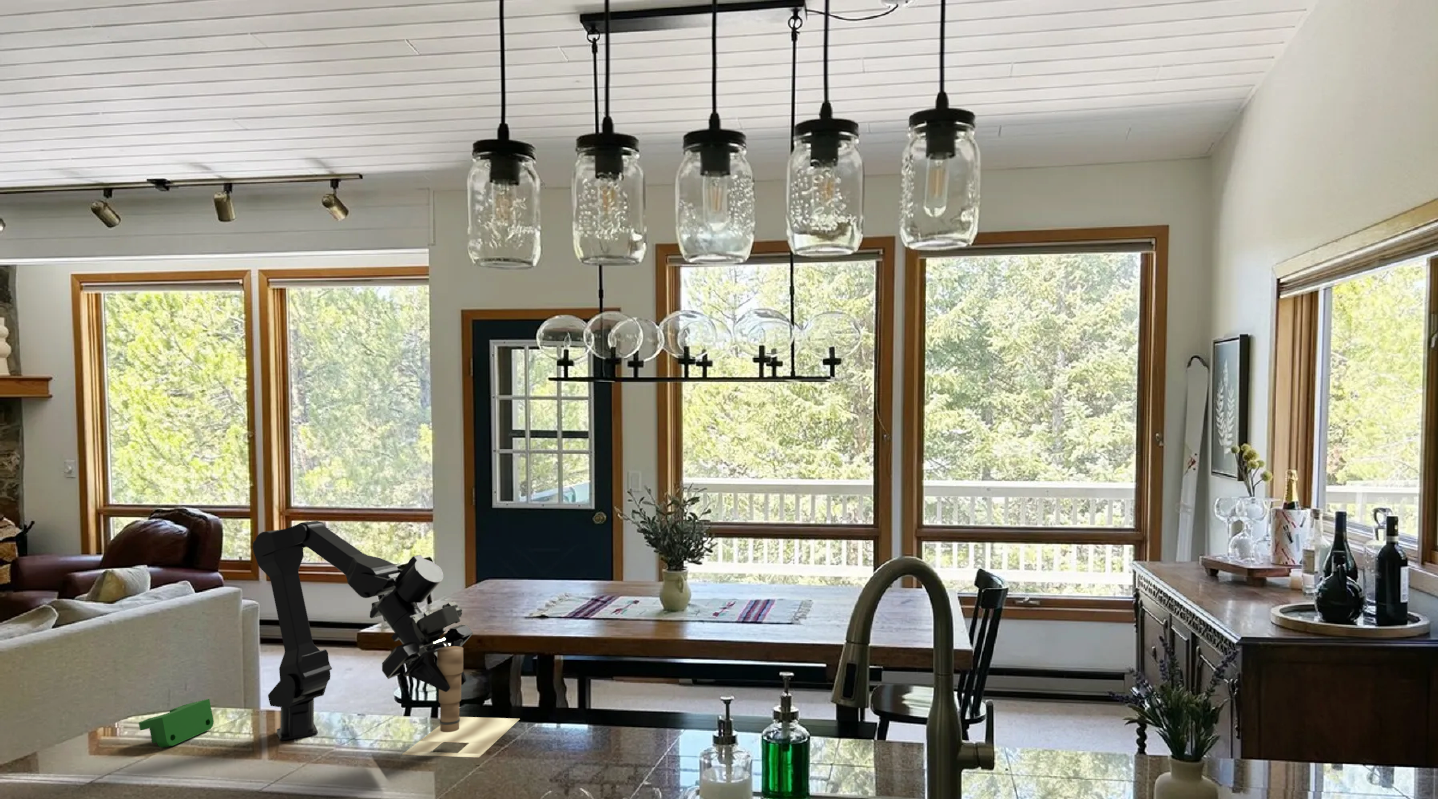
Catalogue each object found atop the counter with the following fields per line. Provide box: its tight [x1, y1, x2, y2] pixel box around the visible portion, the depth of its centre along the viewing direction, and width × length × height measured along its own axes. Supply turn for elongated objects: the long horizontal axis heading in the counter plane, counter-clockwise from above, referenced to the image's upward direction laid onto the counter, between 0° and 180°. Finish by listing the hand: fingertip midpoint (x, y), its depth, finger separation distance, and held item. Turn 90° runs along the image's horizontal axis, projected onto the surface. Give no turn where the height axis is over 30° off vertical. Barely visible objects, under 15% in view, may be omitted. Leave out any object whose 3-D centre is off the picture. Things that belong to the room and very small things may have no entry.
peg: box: [436, 646, 464, 732], centre depth 150 cm, size 4×4×14 cm
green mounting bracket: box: [138, 698, 215, 749], centre depth 160 cm, size 12×6×9 cm
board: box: [401, 716, 521, 767], centre depth 156 cm, size 14×20×2 cm
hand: (456, 686), depth 150 cm, fingers closed on peg, 4 cm apart
